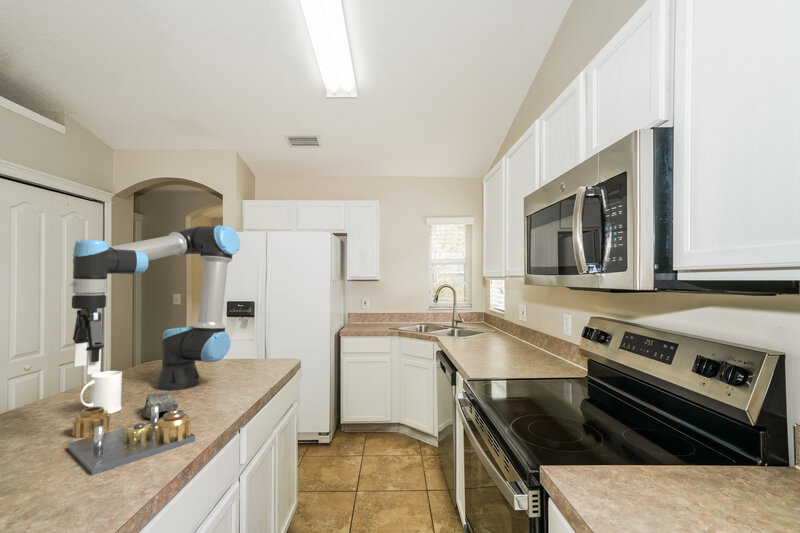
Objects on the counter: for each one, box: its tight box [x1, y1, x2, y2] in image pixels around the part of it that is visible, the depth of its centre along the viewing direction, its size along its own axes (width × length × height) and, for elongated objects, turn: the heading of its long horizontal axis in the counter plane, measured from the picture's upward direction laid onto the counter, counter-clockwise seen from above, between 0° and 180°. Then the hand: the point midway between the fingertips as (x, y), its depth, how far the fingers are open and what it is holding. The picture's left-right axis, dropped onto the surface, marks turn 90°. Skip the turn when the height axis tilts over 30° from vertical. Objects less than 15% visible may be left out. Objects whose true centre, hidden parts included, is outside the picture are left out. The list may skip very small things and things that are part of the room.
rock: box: [142, 390, 179, 419], centre depth 120 cm, size 13×9×6 cm, turn 49°
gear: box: [71, 406, 112, 439], centre depth 106 cm, size 8×8×6 cm
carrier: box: [67, 405, 196, 476], centre depth 98 cm, size 22×21×8 cm
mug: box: [79, 370, 123, 414], centre depth 121 cm, size 12×8×12 cm
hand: (86, 369), depth 106 cm, fingers open, 13 cm apart
